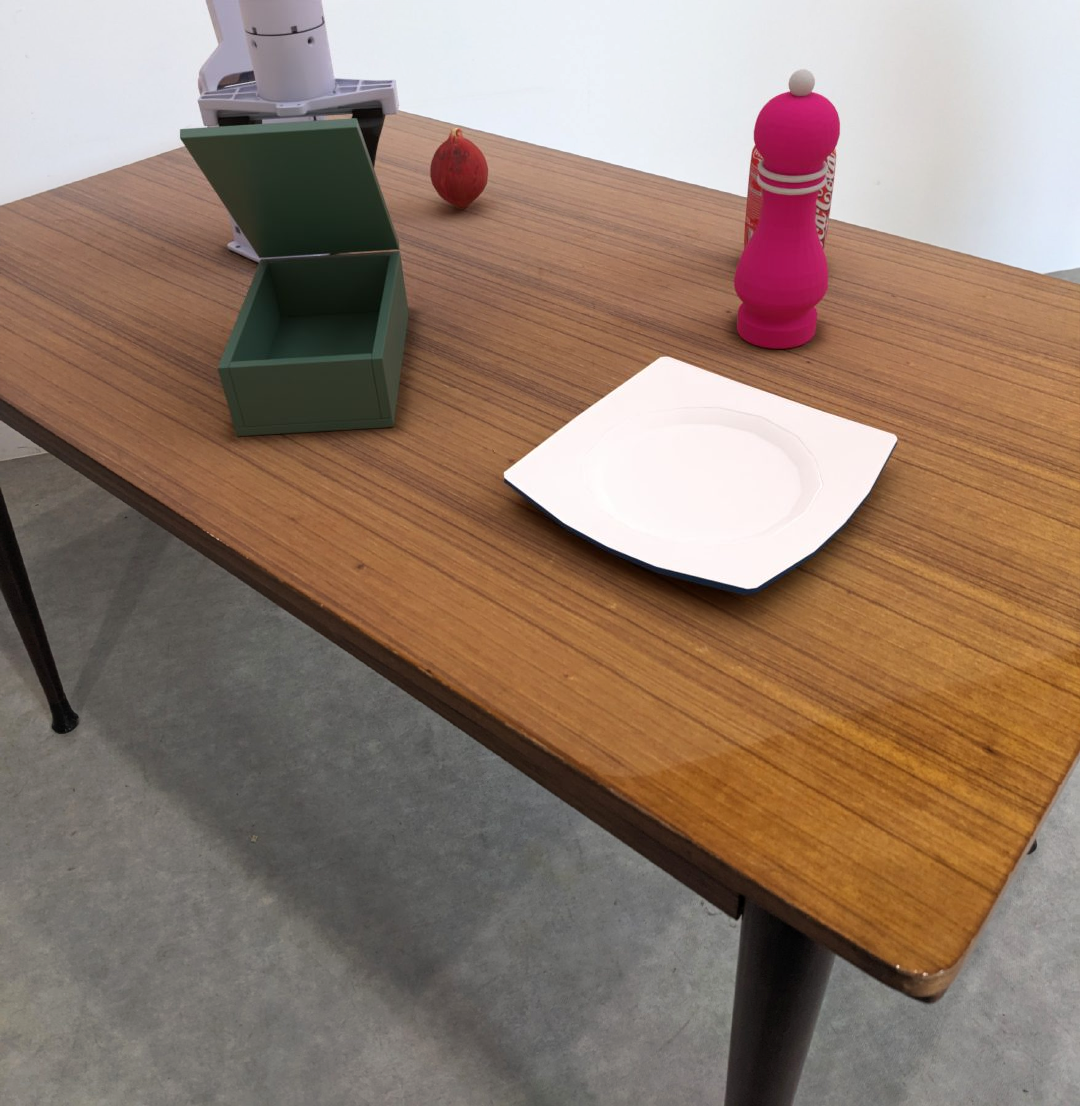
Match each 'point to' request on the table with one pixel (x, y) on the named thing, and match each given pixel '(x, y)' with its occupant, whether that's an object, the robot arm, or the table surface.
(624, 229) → the table surface
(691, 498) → the plate
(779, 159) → the pepper mill
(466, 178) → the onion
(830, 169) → the soda can
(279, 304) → the chest
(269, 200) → the lid
